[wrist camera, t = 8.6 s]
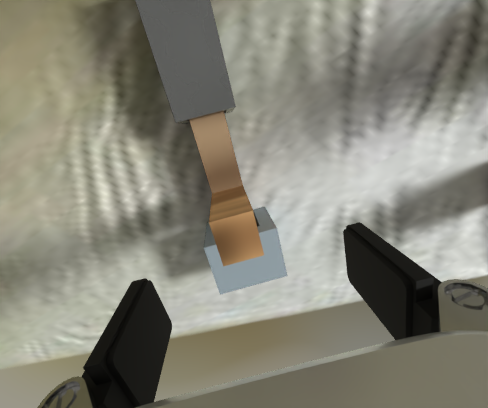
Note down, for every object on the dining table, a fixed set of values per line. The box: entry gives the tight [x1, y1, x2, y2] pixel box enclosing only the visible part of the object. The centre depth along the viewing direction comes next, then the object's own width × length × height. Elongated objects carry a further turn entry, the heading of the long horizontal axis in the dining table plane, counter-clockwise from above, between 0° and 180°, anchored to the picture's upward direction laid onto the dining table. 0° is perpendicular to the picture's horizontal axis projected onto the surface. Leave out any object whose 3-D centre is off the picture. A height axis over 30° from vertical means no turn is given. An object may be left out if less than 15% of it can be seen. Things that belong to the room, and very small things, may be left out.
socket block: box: [204, 207, 287, 294], centre depth 25 cm, size 6×7×6 cm
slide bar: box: [189, 111, 264, 266], centre depth 19 cm, size 18×3×10 cm, turn 14°
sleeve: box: [135, 0, 236, 124], centre depth 19 cm, size 11×5×5 cm, turn 14°
